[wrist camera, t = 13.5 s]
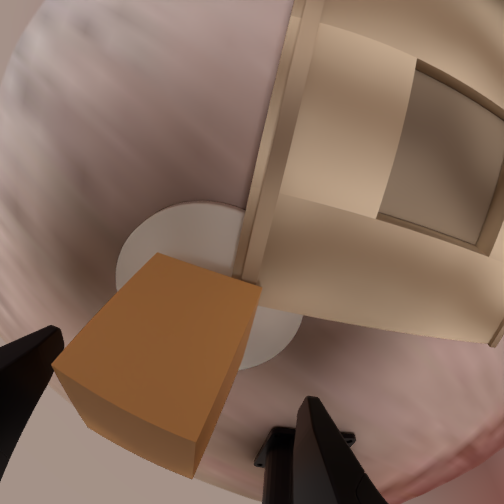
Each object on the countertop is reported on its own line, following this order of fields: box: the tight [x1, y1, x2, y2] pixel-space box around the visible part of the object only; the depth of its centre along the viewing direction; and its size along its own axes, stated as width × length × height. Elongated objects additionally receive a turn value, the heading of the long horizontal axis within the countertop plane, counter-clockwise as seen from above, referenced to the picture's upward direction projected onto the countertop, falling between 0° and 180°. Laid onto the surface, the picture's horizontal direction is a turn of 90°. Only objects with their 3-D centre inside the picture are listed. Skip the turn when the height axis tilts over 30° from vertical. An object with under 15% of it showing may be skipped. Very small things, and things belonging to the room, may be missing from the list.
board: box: [232, 0, 504, 347], centre depth 7 cm, size 27×16×2 cm, turn 168°
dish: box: [116, 201, 303, 370], centre depth 14 cm, size 9×9×1 cm
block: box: [51, 252, 262, 479], centre depth 10 cm, size 4×4×6 cm
